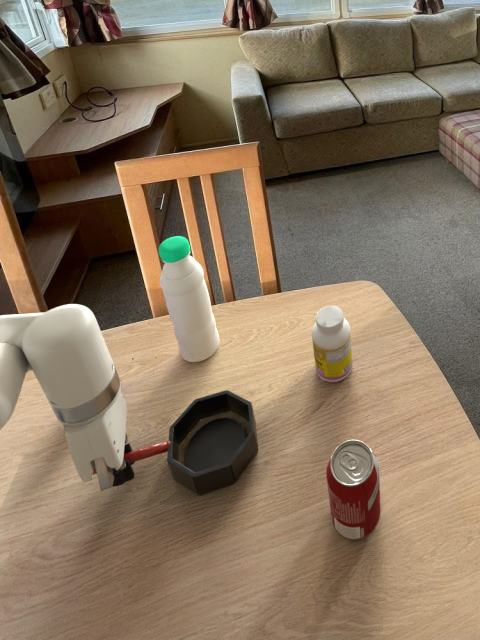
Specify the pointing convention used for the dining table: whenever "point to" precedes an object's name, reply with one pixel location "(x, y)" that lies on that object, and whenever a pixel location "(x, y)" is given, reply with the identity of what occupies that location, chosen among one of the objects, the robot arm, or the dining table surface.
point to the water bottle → (187, 301)
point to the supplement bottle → (332, 344)
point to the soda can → (354, 490)
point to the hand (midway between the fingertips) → (123, 472)
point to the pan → (208, 444)
